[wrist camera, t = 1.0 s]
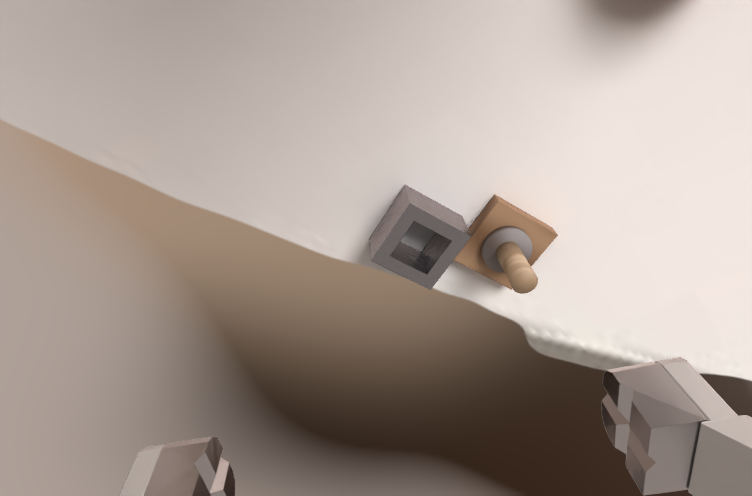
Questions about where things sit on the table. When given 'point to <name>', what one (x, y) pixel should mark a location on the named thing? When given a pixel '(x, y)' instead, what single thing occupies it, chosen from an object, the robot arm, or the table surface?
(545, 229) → the post block
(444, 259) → the grey square frame
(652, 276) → the table surface
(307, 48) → the table surface
